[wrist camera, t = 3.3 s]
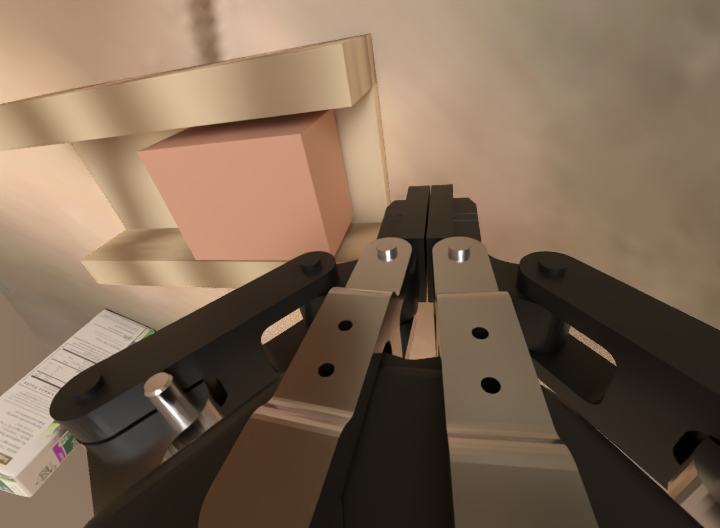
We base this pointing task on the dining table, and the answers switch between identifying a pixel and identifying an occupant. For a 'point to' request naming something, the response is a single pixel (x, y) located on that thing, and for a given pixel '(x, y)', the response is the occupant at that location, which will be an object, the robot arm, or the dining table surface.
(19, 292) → the dining table surface
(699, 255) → the dining table surface
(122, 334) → the syrup box
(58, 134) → the chute
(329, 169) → the block
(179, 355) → the robot arm
